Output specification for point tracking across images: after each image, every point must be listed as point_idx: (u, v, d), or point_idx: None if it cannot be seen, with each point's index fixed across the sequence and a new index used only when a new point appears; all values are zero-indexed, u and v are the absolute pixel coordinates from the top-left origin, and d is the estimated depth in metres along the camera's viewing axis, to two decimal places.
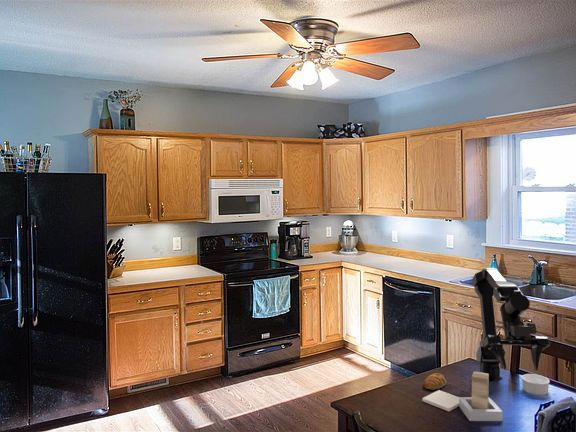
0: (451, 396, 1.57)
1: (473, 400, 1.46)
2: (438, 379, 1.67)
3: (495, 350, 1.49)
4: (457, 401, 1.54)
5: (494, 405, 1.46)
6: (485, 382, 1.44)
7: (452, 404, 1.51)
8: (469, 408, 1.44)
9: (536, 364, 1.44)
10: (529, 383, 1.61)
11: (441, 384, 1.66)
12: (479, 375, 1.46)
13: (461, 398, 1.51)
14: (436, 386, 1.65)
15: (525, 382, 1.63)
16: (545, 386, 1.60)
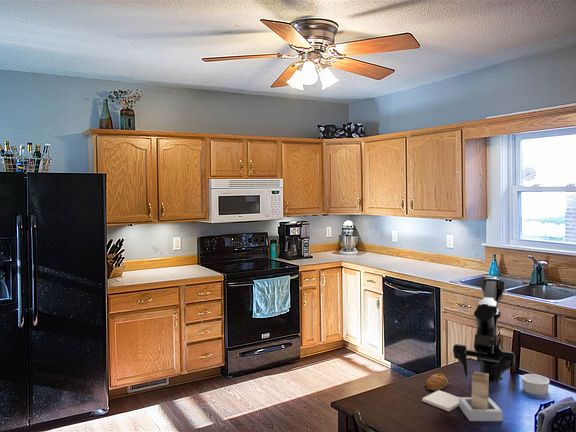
0: (451, 396, 1.57)
1: (473, 400, 1.46)
2: (440, 379, 1.67)
3: None
4: (457, 401, 1.54)
5: (494, 405, 1.46)
6: (485, 382, 1.44)
7: (452, 404, 1.51)
8: (469, 408, 1.44)
9: (497, 376, 1.48)
10: (529, 383, 1.61)
11: (443, 384, 1.66)
12: (479, 375, 1.46)
13: (461, 398, 1.51)
14: (439, 387, 1.64)
15: (525, 382, 1.63)
16: (545, 386, 1.60)
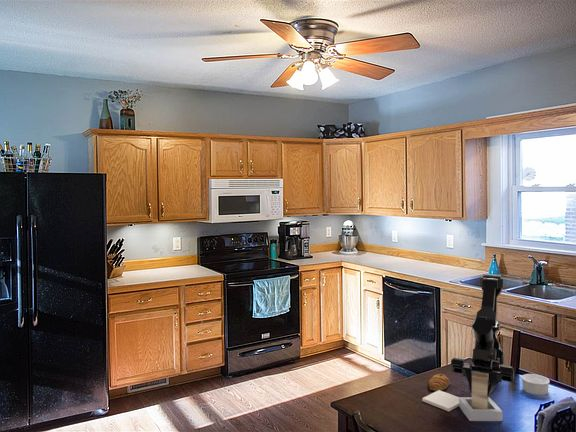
0: (451, 396, 1.57)
1: (473, 400, 1.46)
2: (443, 380, 1.66)
3: None
4: (457, 401, 1.54)
5: (494, 405, 1.46)
6: (485, 382, 1.44)
7: (452, 404, 1.51)
8: (469, 408, 1.44)
9: (488, 390, 1.45)
10: (529, 383, 1.61)
11: (446, 385, 1.66)
12: (479, 375, 1.46)
13: (461, 398, 1.51)
14: (442, 387, 1.64)
15: (525, 382, 1.63)
16: (545, 386, 1.60)
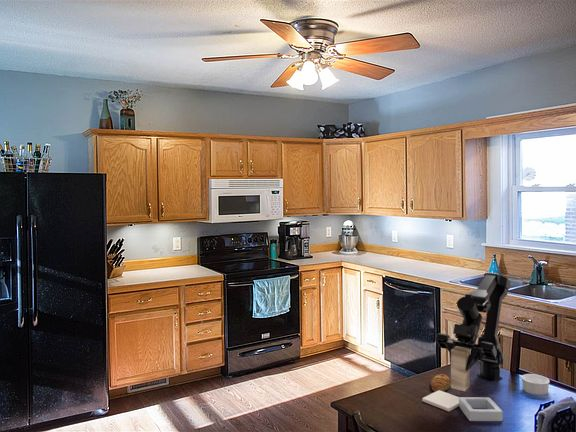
0: (451, 396, 1.57)
1: (452, 373, 1.50)
2: (445, 380, 1.66)
3: None
4: (457, 401, 1.54)
5: (494, 405, 1.46)
6: (463, 356, 1.47)
7: (452, 404, 1.51)
8: (469, 408, 1.44)
9: (467, 364, 1.48)
10: (529, 383, 1.61)
11: (448, 385, 1.65)
12: (459, 349, 1.50)
13: (461, 398, 1.51)
14: (444, 388, 1.64)
15: (525, 382, 1.63)
16: (545, 386, 1.60)
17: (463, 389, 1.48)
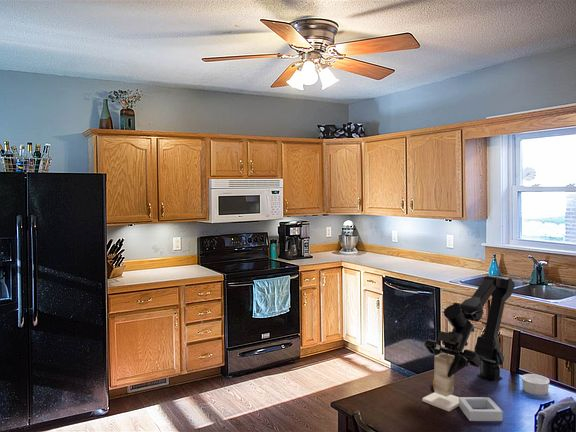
0: (451, 396, 1.57)
1: (435, 378, 1.55)
2: None
3: None
4: (457, 401, 1.54)
5: (494, 405, 1.46)
6: (445, 362, 1.52)
7: (452, 404, 1.51)
8: (469, 408, 1.44)
9: (449, 371, 1.53)
10: (529, 383, 1.61)
11: None
12: (442, 356, 1.55)
13: (461, 398, 1.51)
14: None
15: (525, 382, 1.63)
16: (545, 386, 1.60)
17: (445, 394, 1.53)
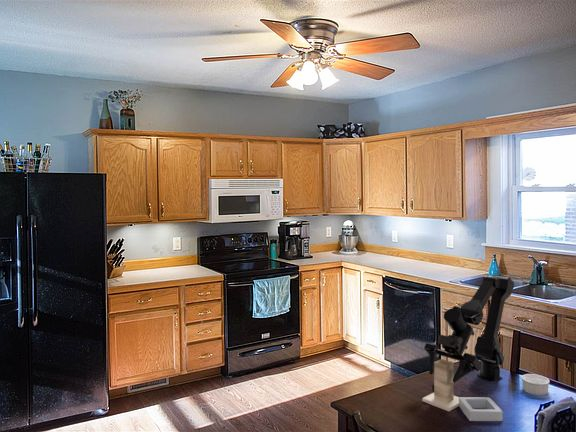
0: None
1: (435, 385, 1.55)
2: None
3: None
4: (457, 401, 1.54)
5: (494, 405, 1.46)
6: (445, 369, 1.52)
7: (452, 404, 1.51)
8: (469, 408, 1.44)
9: (454, 376, 1.51)
10: (529, 383, 1.61)
11: None
12: (442, 362, 1.55)
13: (461, 398, 1.51)
14: None
15: (525, 382, 1.63)
16: (545, 386, 1.60)
17: (445, 401, 1.53)
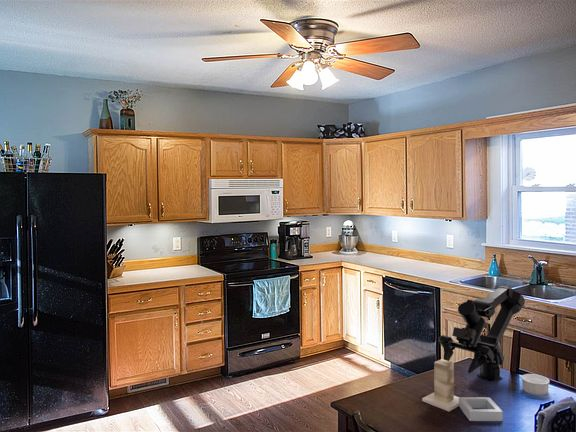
0: None
1: (435, 385, 1.55)
2: None
3: None
4: (457, 401, 1.54)
5: (494, 405, 1.46)
6: (445, 369, 1.52)
7: (452, 404, 1.51)
8: (469, 408, 1.44)
9: (470, 367, 1.57)
10: (529, 383, 1.61)
11: None
12: (442, 362, 1.55)
13: (461, 398, 1.51)
14: None
15: (525, 382, 1.63)
16: (545, 386, 1.60)
17: (445, 401, 1.53)
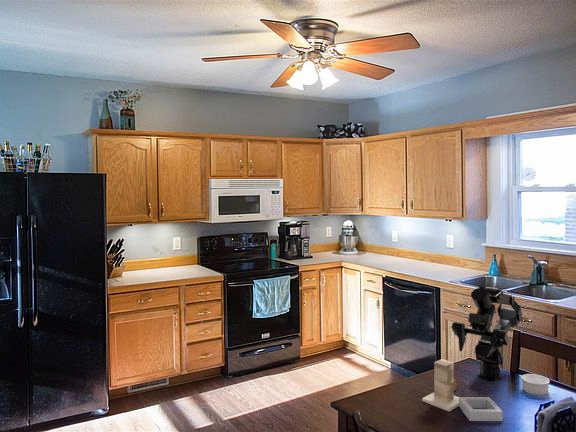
0: None
1: (435, 385, 1.55)
2: None
3: None
4: (457, 401, 1.54)
5: (494, 405, 1.46)
6: (445, 369, 1.52)
7: (452, 404, 1.51)
8: (469, 408, 1.44)
9: (487, 351, 1.60)
10: (529, 383, 1.61)
11: (456, 386, 1.65)
12: (442, 362, 1.55)
13: (461, 398, 1.51)
14: None
15: (525, 382, 1.63)
16: (545, 386, 1.60)
17: (445, 401, 1.53)
